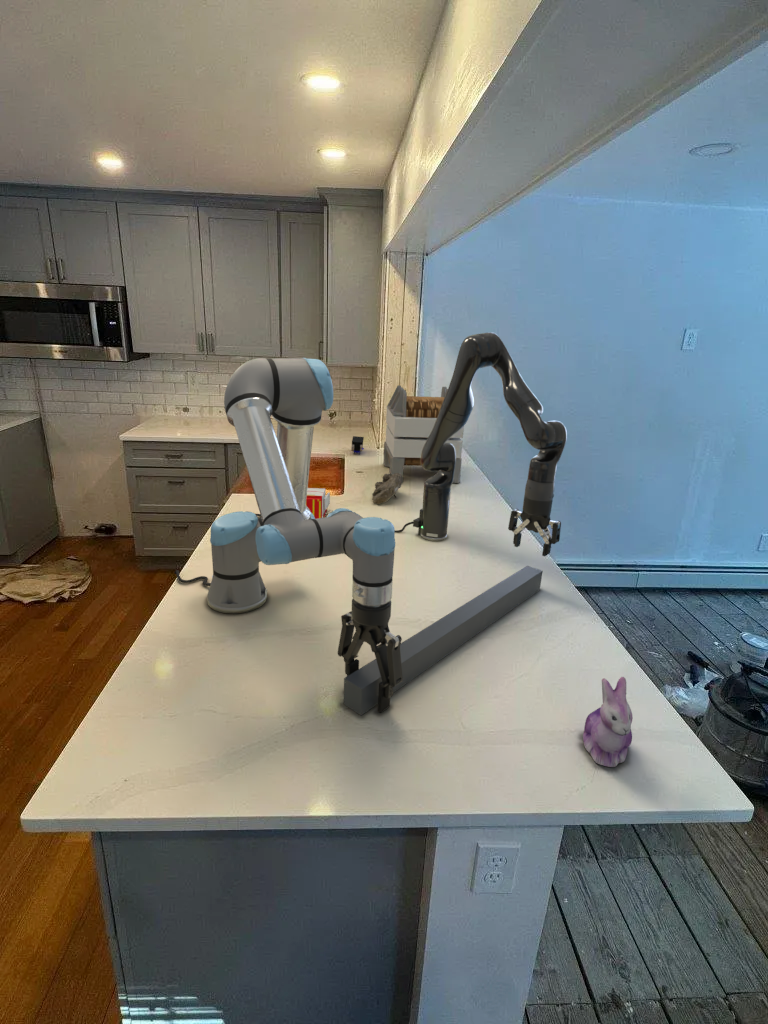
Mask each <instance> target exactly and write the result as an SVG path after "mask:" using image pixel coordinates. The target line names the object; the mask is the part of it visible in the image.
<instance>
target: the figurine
mask: <svg viewBox="0 0 768 1024" xmlns="http://www.w3.org/2000/svg"><path fill="white" fill-rule="evenodd" d="M601 693H602V695H601V696H602V704H601V706H600V707H597V709H595V710H594V711H592V712H590V713H589V714H588V715H587V717H586V719H585V722H584V727H583V728H584V729H583V734H582V739H583V746H584V748H585V750H586V751H587V752H588V754H589V755H590V756H591V758H592V760H593V761H594V763H595V764H598V765H600V766H604V767H608V768H615V767H617V766H618V764H621V763H625V761H626V759H627V754H628V751H629V747H630V746H631V744H632V742H633V731H632V722H633V712H632V709H631V707H630V704H629V702H628V700H627V679H626V678H625V677H624V676H621V677H619V679H618V680H617V682H616V686H615V688H613V687H612V685H611V683H610V682H609V680H607V678H605V677H603V678H602V679H601Z"/></svg>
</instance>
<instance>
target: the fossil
mask: <svg viewBox="0 0 768 1024" xmlns="http://www.w3.org/2000/svg"><path fill="white" fill-rule="evenodd" d="M403 482H404V476H403V475H401V474H399V473H394V474H393V475H392V474H391V473H390V472H389V473H384V474H383V476H382V481H376V482H375V483H374V488H375V489H374V490H373V493H372V494H371V495H372V496H371V497H372V502H373V503H374V504H376V505H380V504H381V505H382V504H384V503H387V502H388V501H389V500H390V499H391V498H393V497H394V498H395V499H396V498H397V496H396V493H397V492H398V490H399V489H401V487H402V485H403Z"/></svg>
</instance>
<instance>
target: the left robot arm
mask: <svg viewBox="0 0 768 1024" xmlns="http://www.w3.org/2000/svg"><path fill="white" fill-rule="evenodd" d="M333 403H334V385H333V381H332V377H331V374H330V371H329V369H328V367H327V365H326V364H325V363H324V362H323V361H322V360H321V359H318V358H306V357H293V358H292V357H290V358H289V357H288V358H287V357H286V358H285V357H284V358H282V357H280V358H275V357H274V358H265V357H258V358H252V359H250V360H247V361H246V362H244V363H243V364H241V365H240V366H239V367H237V368H236V370H235V371H234V372H233V373H232V375H231V376H230V378H229V380H228V382H227V385H226V387H225V391H224V399H223V404H224V405H223V406H224V411H225V416H226V419H227V421H228V423H229V424H230V425H231V426H233V427H234V429H235V432H236V435H237V439H238V442H239V446H240V449H241V454H242V456H243V460H244V464H245V467H246V470H247V474H248V476H249V480H250V484H251V487H252V490H253V494H254V497H255V500H256V504H257V507H258V511H259V514H260V515H261V516H256V514H257V513H254V512H252V511H247V510H246V511H243V510H242V511H239V510H238V511H233V512H229V513H226V514H223V515H221V516H219V517H217V518H216V519H215V520H214V521H213V522H212V524H211V526H210V539H209V542H210V547H211V548H210V549H211V559H212V560H211V561H212V578H211V582H208V581H209V578H208V576H204V575H202V576H197V577H193V578H191V579H183V578H182V577H181V575H180V570H179V569H177V570H175V571H174V572H173V573H174V574H175V575H176V578H177V580H178V582H180V583H181V584H190V583H193V582H196V581H201V580H202V585H203V586H205V587H208V591H207V605H208V606H209V607H210V608H211V609H212V610H214V611H216V612H219V613H223V614H244V613H247V612H248V613H249V612H251V611H254V610H257V609H258V608H260V607H261V606H263V605H264V604H265V603H266V602H267V599H268V589H267V587H266V584H265V583H264V580H263V578H262V576H261V573H260V563H262V564H264V565H265V566H276V565H289V564H291V563H295V562H301V561H305V560H311V559H317V558H318V559H319V558H326V557H331V556H337V555H341V554H344V555H346V556H347V557H348V559H350V560H352V584H351V585H352V587H351V588H352V590H351V591H352V592H351V593H352V594H351V597H352V599H351V611H349V612H347V613H344V614H343V615H341V617H340V618H341V630H340V635H339V637H340V638H339V642H338V647H337V656H338V657H342V658H343V662H344V673H345V675H346V677H347V676H349V675H350V674H352V673H353V672H355V671H357V670H358V669H360V660H359V659H358V657H359V655H358V654H359V652H360V650H361V649H362V647H363V645H364V643H367V644H368V645H369V646H370V650H371V652H372V653H374V657H375V659H376V660H377V664H378V668H379V671H380V675H381V678H382V682H380V683H379V697H378V704H377V712H379V713H380V714H381V713H382V712H384V711H386V710H387V709H388V708H390V707H391V697H393V695H394V693H393V687H395V686H396V685H398V684H399V683H400V682H402V681H403V676H402V665H401V654H400V644H401V643H402V636H401V635H400V634H397V635H394V634H393V633H391V631H390V627H389V622H390V619H391V616H392V598H393V581H394V580H393V577H394V563H395V549H396V538H395V537H396V536H395V534H396V532H395V531H396V529H395V525H394V524H393V523H392V522H391V521H390V520H388V519H383V518H382V517H378V516H367V517H362V516H361V515H360V514H359V513H356V512H355V511H353V510H351V509H348V508H345V507H339V508H336V509H334V510H332V511H331V512H329V513H328V514H327V516H325V517H323V518H318V519H315V517H314V515H313V514H312V513H311V512H310V509H309V508H308V507H307V506H306V498H307V488H309V476H310V469H311V468H310V467H311V459H312V449H313V439H314V438H313V437H314V429H315V426H316V425H318V424H319V423H320V422H321V420H322V415H323V411H325V412H326V411H327V410H330V409H331V408H332V406H333ZM271 417H272V418H273V419H274V420H275V421H276V423H277V424H276V431H275V428H274V423H273V422H272V421H273V420H272V419H271ZM179 575H180V576H179Z"/></svg>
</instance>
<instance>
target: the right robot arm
mask: <svg viewBox="0 0 768 1024" xmlns="http://www.w3.org/2000/svg"><path fill="white" fill-rule="evenodd" d="M460 344H461V345H460V346H459V347H460V348H459V350H458V353H457V358H456V361H455V366H454V370H453V373H452V376H451V379H450V382H449V384H448V388H447V389H448V391H447V393H446V396H445V398H444V400H443V403H442V405H441V408H440V411H439V414H438V417H437V419H436V422H435V424H434V427H433V429H432V431H431V433H430V435H429V437H428V439H427V441H426V443H425V444H424V447H423V449H422V452H421V466H420V467H422V469H423V470H424V471H427V472H436V473H435V474H434V475H432V476H430V477H428V478H427V479H425V480H424V482H423V493H422V496H423V497H422V506H421V508H420V509H419V516H418V517H417V518H414V519H413V521H409V522H407V523H405V524H404V525H403V527H401V529H399V530H395V533H402V532H404V531H405V529H406V527H408V526H410V525H412V527H413V528H418V530H417V535H418V536H420V538H421V539H424V540H426V541H432V542H440V541H444V540H446V539H447V538H448V525H449V517H450V516H449V514H450V504H451V494H452V493H451V491H452V486H453V484H454V483H453V476H454V469H455V462H456V452H455V448H454V446H453V445H452V444H451V443H445V442H446V441H447V440H448V439H449V438H450V437H451V436H453V435H454V434H455V433H456V432H458V431H459V430H460V429H461V428H462V427H463V426H464V427H465V425H466V424H467V423H468V420H469V418H470V416H471V413H472V411H473V408H474V405H475V399H474V393H473V390H472V383H473V380H474V377H475V375H476V373H477V371H478V370H479V369H483V368H487V367H491V368H493V369H494V371H495V372H497V374H498V376H499V377H500V379H501V383H502V391H503V392H502V394H503V398H504V401H505V403H506V405H507V406H508V408H509V409H510V411H511V412H512V413H513V415H514V416H515V417H516V419H517V420H518V422H519V424H520V428H521V430H522V432H523V435H524V437H525V440H526V441H527V443H528V444H529V445H530V446H531V447H532V448H534V449H535V450H537V451H538V450H539V451H538V453H537V454H536V455H535V456H533V457H532V458H531V459H530V461H529V464H528V465H529V466H528V471H527V477H526V478H527V479H526V483H525V486H524V487H525V488H524V495H523V502H522V511H520V509H519V508H516V509H513V510H511V511H510V517H509V522H508V527H507V529H508V531H510V532H512V533H513V540H512V544H513V546H514V547H515V548H518V547H520V546H521V541H522V535H523V533H522V532H523V531H524V530H527V531H532V532H534V533H536V534H539V536H540V537H541V538H542V540H543V541H544V543H543V545H542V546H543V547H542V552H541V553H542V554H541V556H543V557H547V556H548V555H549V554H550V553H551V549H552V545H555V544H557V543H559V542H560V537H561V529H562V522H561V520H551V514H552V508H553V501H554V497H555V483H556V474H557V469H558V468H557V467H558V464H559V462H560V460H561V457H562V454H563V452H564V449H565V447H566V443H567V440H568V432H567V428H566V426H565V424H564V423H563V422H561V421H559V420H547V421H544V420H543V419H542V415H543V413H544V406H543V405H542V403H541V402H540V400H539V399H538V398H537V396H536V395H535V394H534V393H533V391H532V390H531V389H530V387H529V386H528V384H527V383H526V382H525V380H524V378H523V376H522V375H521V374H520V372H519V369H518V368H517V365H516V364H515V361H514V360H513V357H512V356H511V354H510V352H509V351H508V348H507V347H506V345H505V343H504V341H503V340H502V338H501V337H500V336H499V335H498V334H497V333H495V332H482V333H481V332H480V333H475V334H471V335H468V336H466V337H465V338H464V340H463V341H462V343H460ZM255 514H256V516H257V517H261V515H260V513H255ZM519 518H520V519H521V521H522V523H521V524H519V526H518V520H519ZM548 526H550V528H549V527H548ZM550 529H551V530H550Z"/></svg>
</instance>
